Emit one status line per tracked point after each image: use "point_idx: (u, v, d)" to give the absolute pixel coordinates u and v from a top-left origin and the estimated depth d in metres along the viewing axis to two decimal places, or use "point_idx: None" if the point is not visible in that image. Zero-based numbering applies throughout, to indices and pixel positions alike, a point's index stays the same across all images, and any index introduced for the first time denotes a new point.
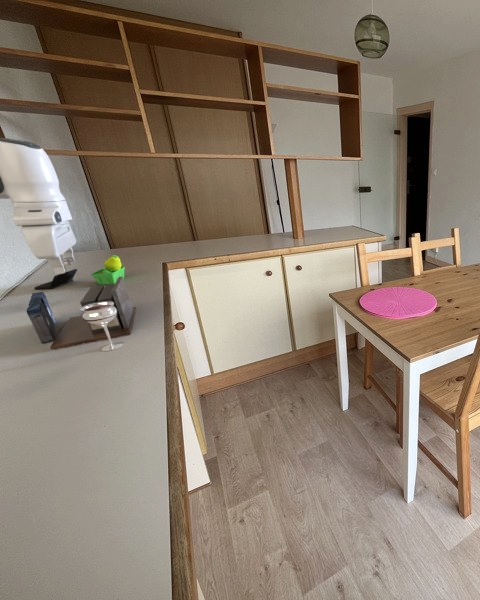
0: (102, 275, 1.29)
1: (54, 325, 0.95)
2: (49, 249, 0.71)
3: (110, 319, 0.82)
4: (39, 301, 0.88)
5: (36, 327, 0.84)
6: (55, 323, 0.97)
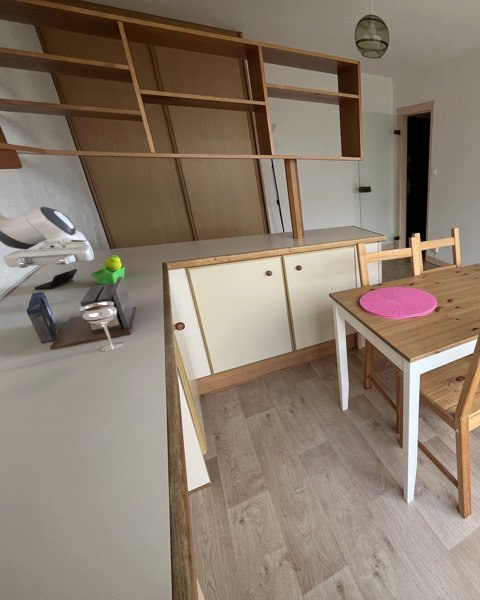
0: (102, 275, 1.29)
1: (54, 325, 0.95)
2: (92, 256, 1.08)
3: (110, 319, 0.82)
4: (39, 301, 0.88)
5: (36, 327, 0.84)
6: (55, 323, 0.97)
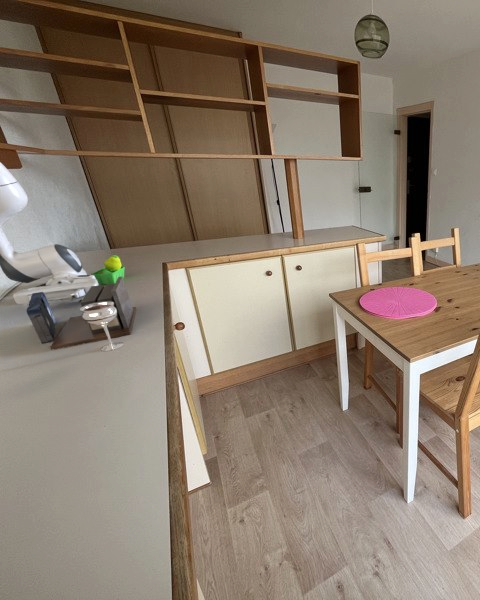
0: (102, 275, 1.29)
1: (54, 325, 0.95)
2: None
3: (110, 319, 0.82)
4: (39, 301, 0.88)
5: (36, 327, 0.84)
6: (55, 323, 0.97)
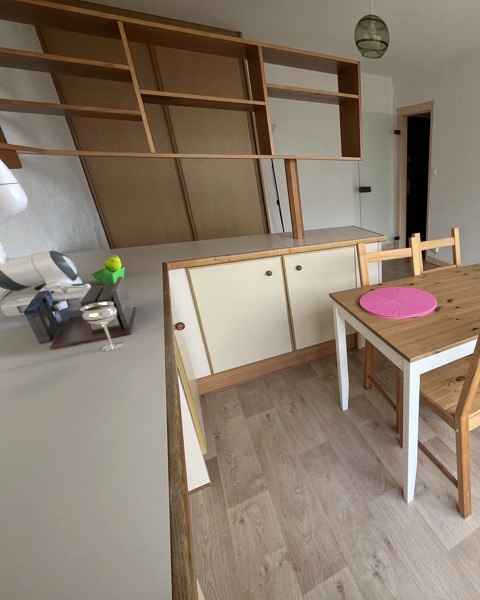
0: (102, 275, 1.29)
1: (57, 324, 0.95)
2: None
3: (110, 319, 0.82)
4: (40, 301, 0.89)
5: (33, 327, 0.84)
6: (59, 322, 0.98)
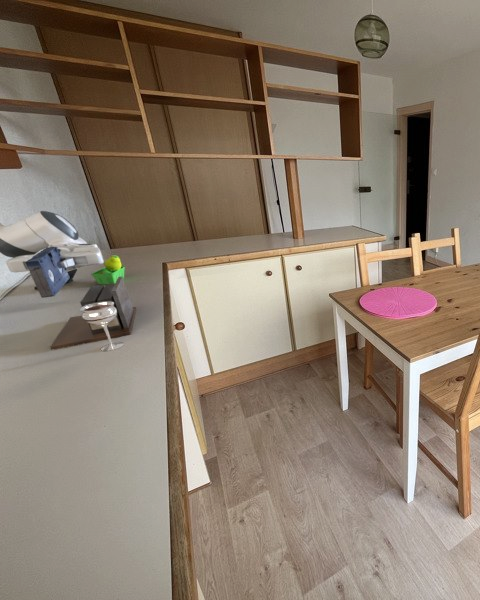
0: (102, 275, 1.29)
1: (63, 281, 0.92)
2: (103, 259, 1.01)
3: (110, 319, 0.82)
4: (45, 254, 0.85)
5: (35, 280, 0.81)
6: (66, 280, 0.95)
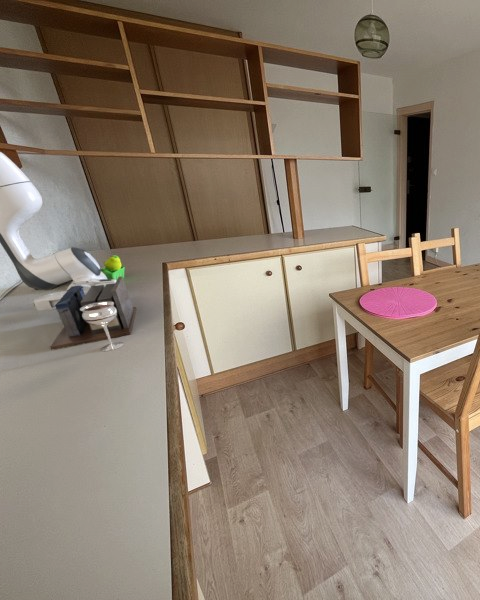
0: None
1: None
2: None
3: (110, 319, 0.82)
4: (71, 295, 0.90)
5: (63, 321, 0.86)
6: None
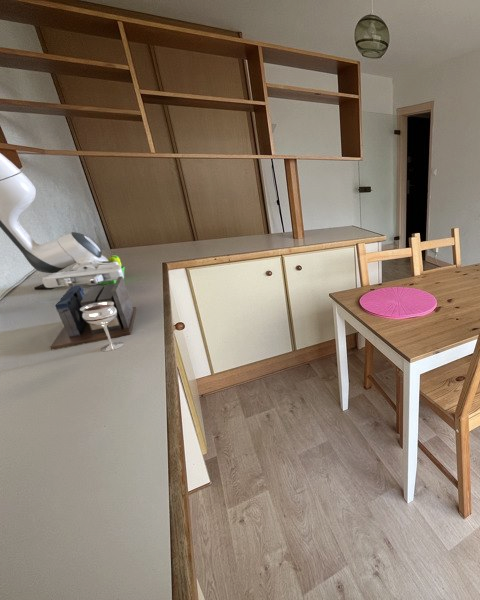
0: None
1: None
2: (123, 275, 1.14)
3: (110, 319, 0.82)
4: (71, 295, 0.90)
5: (63, 321, 0.86)
6: None
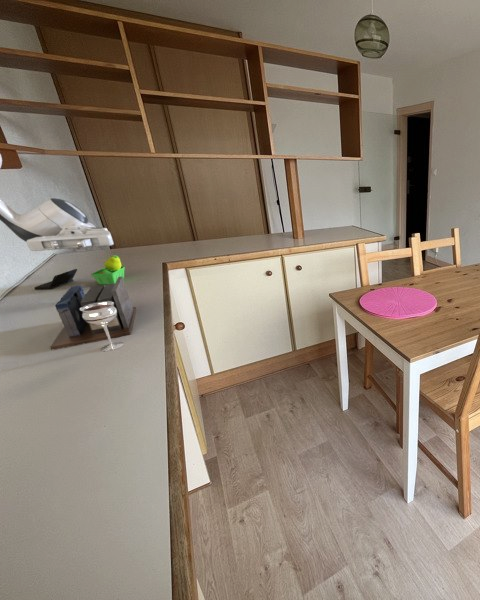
0: (102, 275, 1.29)
1: None
2: None
3: (110, 319, 0.82)
4: (71, 295, 0.90)
5: (63, 321, 0.86)
6: None
